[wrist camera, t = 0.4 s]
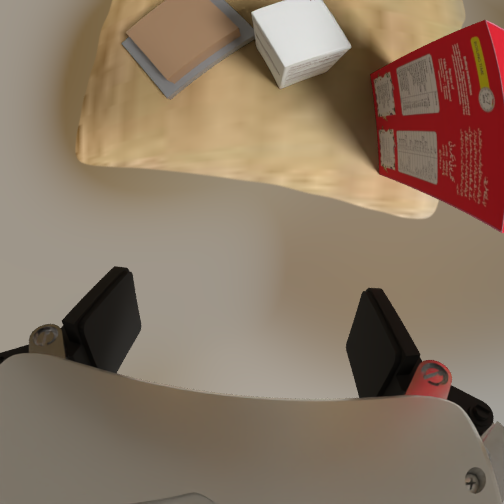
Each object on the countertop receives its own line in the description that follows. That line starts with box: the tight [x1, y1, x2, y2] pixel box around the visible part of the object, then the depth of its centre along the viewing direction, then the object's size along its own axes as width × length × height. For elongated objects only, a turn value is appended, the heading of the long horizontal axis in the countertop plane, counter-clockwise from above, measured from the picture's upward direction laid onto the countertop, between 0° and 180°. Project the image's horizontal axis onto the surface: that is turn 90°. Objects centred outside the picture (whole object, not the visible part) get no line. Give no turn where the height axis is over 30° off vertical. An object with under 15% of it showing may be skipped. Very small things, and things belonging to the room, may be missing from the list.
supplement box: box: [251, 0, 351, 89], centre depth 24 cm, size 7×7×13 cm
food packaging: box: [370, 20, 504, 233], centre depth 21 cm, size 15×5×25 cm, turn 7°
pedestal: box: [122, 0, 255, 99], centre depth 27 cm, size 15×13×4 cm
